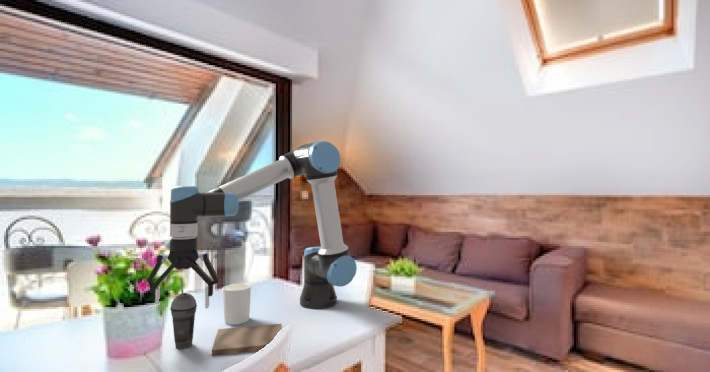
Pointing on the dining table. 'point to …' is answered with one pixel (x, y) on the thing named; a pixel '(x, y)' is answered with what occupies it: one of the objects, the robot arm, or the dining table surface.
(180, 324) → the beverage cup
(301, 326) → the dining table surface
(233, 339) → the walnut board
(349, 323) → the dining table surface
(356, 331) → the dining table surface
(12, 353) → the dining table surface
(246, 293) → the candle holder
